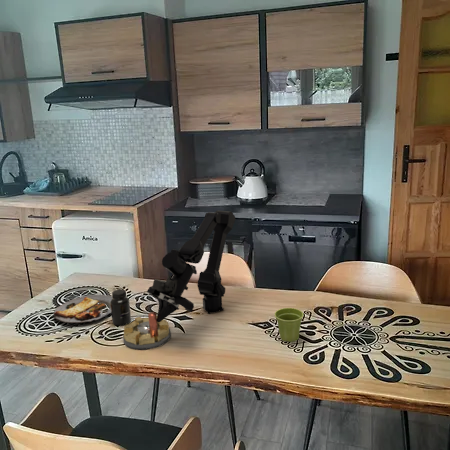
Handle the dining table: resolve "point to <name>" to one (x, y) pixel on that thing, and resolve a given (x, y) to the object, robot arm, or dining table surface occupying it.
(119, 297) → the supplement bottle
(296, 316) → the plant pot
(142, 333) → the flange
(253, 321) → the dining table surface
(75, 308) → the food plate
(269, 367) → the dining table surface
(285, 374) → the dining table surface
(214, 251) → the robot arm
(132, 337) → the handwheel
